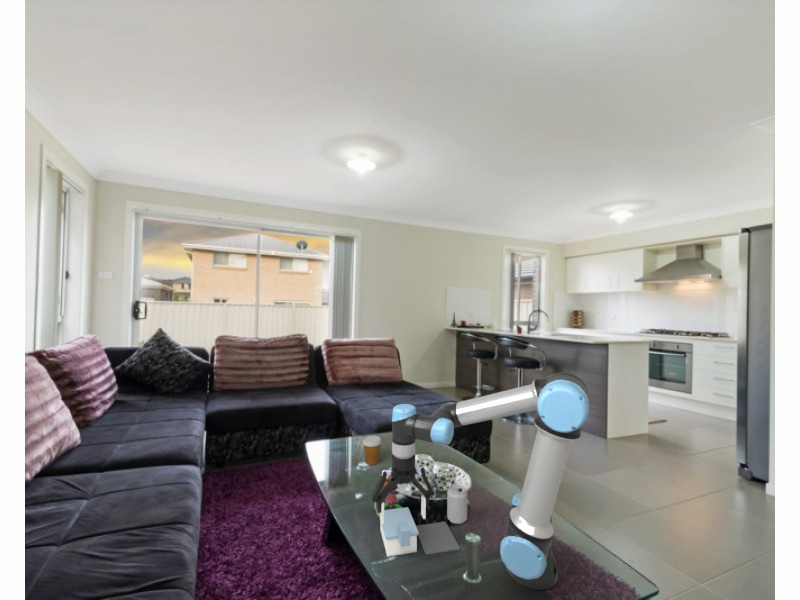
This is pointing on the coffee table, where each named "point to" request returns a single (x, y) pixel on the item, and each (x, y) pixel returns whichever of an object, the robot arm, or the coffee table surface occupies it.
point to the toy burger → (389, 498)
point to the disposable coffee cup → (372, 449)
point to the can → (457, 504)
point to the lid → (399, 525)
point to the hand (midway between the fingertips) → (402, 519)
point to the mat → (436, 538)
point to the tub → (398, 545)
